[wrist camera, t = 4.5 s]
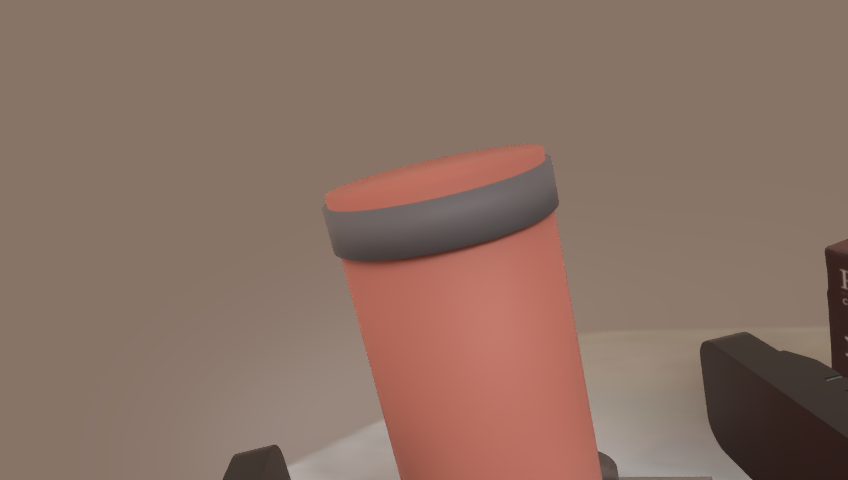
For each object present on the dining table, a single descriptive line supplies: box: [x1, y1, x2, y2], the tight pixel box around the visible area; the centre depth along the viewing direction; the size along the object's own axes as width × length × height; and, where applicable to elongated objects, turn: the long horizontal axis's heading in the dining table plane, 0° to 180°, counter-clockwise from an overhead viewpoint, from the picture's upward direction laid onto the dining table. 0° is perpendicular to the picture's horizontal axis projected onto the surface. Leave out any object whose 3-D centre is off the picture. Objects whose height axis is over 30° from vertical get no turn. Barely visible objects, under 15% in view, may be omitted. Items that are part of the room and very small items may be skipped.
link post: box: [322, 144, 602, 480], centre depth 12 cm, size 4×4×12 cm
